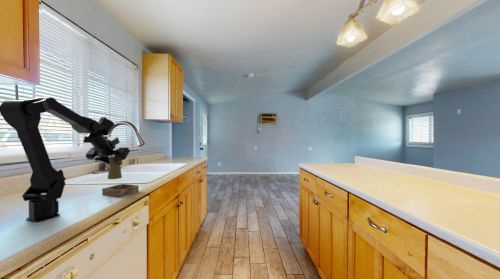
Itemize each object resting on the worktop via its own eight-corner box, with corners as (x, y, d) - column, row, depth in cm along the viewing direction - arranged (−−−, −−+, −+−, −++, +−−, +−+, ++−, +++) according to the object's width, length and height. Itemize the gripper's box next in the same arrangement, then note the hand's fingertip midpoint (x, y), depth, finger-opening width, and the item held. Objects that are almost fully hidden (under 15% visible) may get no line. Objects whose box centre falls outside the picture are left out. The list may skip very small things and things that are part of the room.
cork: (124, 177, 110) (124, 155, 110) (115, 179, 104) (115, 156, 104) (114, 176, 111) (114, 155, 111) (104, 178, 105) (104, 156, 105)
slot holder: (118, 197, 97) (118, 190, 97) (102, 194, 101) (102, 188, 101) (138, 191, 107) (138, 185, 107) (123, 189, 111) (123, 183, 111)
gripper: (127, 130, 103) (141, 152, 114) (90, 130, 105) (107, 152, 116) (116, 147, 95) (131, 169, 106) (76, 147, 97) (95, 169, 108)
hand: (116, 164), depth 109 cm, fingers closed on cork, 5 cm apart
